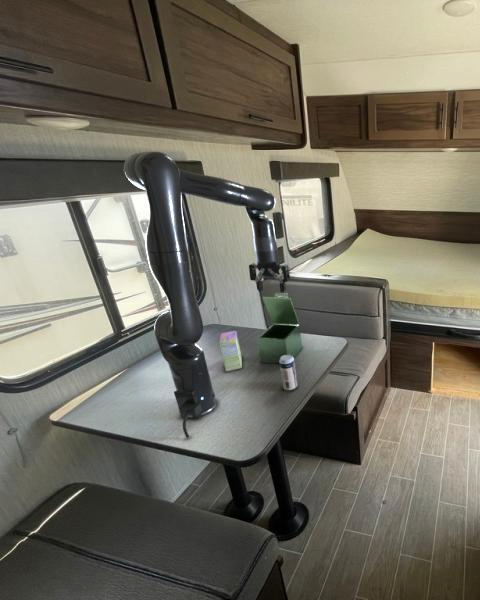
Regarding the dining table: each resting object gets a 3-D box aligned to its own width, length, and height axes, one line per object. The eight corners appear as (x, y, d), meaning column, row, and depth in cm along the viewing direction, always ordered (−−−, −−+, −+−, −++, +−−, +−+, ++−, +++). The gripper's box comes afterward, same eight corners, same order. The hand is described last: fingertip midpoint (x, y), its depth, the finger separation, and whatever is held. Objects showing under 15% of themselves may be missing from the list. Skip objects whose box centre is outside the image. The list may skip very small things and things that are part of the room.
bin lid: (289, 299, 126) (294, 290, 130) (262, 298, 127) (267, 289, 131) (299, 324, 136) (303, 315, 140) (273, 323, 137) (277, 314, 141)
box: (226, 358, 131) (220, 333, 127) (241, 355, 133) (236, 330, 129) (225, 372, 122) (219, 344, 118) (241, 368, 124) (236, 341, 120)
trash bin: (288, 364, 127) (285, 339, 124) (261, 362, 129) (256, 338, 125) (302, 347, 140) (299, 324, 136) (276, 345, 141) (273, 323, 137)
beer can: (300, 387, 113) (296, 357, 109) (287, 393, 110) (282, 362, 106) (293, 381, 117) (289, 352, 112) (281, 386, 113) (276, 357, 109)
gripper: (241, 250, 112) (248, 294, 117) (280, 251, 110) (285, 295, 116) (252, 246, 119) (259, 287, 124) (289, 247, 117) (294, 289, 123)
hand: (272, 291), depth 120 cm, fingers open, 8 cm apart
